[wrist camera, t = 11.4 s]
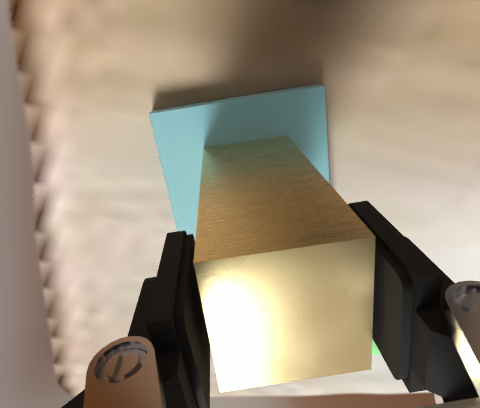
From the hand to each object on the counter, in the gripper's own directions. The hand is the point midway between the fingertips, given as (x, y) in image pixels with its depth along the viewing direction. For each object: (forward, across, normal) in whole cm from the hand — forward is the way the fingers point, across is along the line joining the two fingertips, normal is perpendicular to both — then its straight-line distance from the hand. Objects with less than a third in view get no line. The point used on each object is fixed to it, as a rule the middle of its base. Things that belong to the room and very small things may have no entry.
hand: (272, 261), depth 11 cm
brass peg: (+7, 0, 0) cm, 7 cm away
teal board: (+8, 0, 0) cm, 8 cm away
